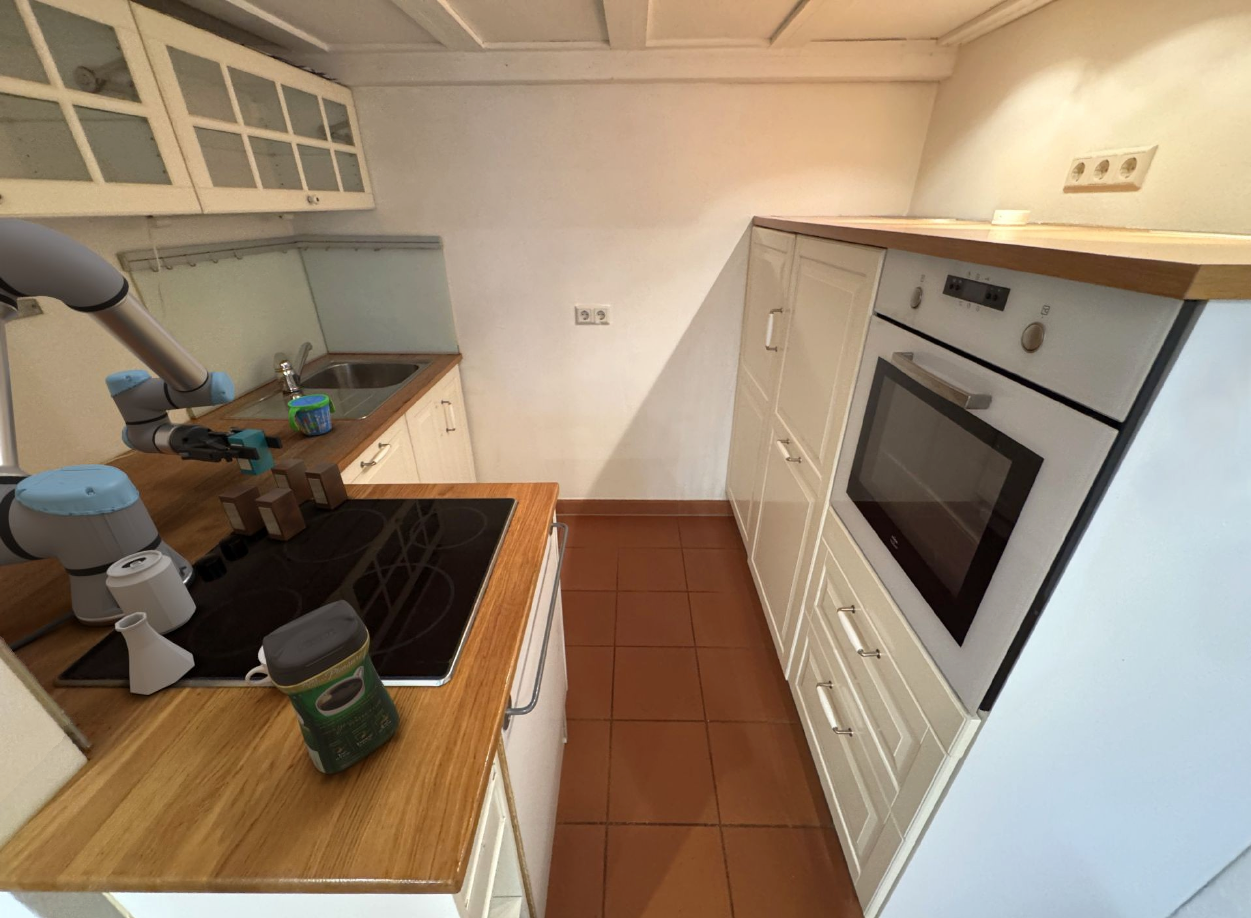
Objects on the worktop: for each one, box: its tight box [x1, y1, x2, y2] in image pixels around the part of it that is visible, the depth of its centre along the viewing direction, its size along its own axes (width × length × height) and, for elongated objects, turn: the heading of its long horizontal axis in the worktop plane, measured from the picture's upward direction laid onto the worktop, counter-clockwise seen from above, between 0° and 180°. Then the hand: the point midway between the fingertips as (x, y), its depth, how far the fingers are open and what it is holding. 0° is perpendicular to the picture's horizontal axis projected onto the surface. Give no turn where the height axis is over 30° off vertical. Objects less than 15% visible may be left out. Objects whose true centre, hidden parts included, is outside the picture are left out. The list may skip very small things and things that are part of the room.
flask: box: [114, 612, 195, 696], centre depth 68 cm, size 7×7×10 cm
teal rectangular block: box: [228, 428, 276, 477], centre depth 111 cm, size 5×4×9 cm
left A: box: [218, 483, 266, 536], centre depth 102 cm, size 5×4×9 cm
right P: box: [305, 461, 349, 510], centre depth 110 cm, size 5×4×9 cm
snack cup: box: [287, 394, 336, 437], centre depth 149 cm, size 16×10×10 cm
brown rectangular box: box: [270, 458, 313, 506], centre depth 112 cm, size 5×4×9 cm
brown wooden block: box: [254, 487, 307, 542], centre depth 100 cm, size 5×4×9 cm
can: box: [106, 550, 197, 636], centre depth 77 cm, size 8×8×12 cm
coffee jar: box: [262, 599, 400, 775], centre depth 57 cm, size 10×8×19 cm
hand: (268, 448), depth 110 cm, fingers closed on teal rectangular block, 5 cm apart
